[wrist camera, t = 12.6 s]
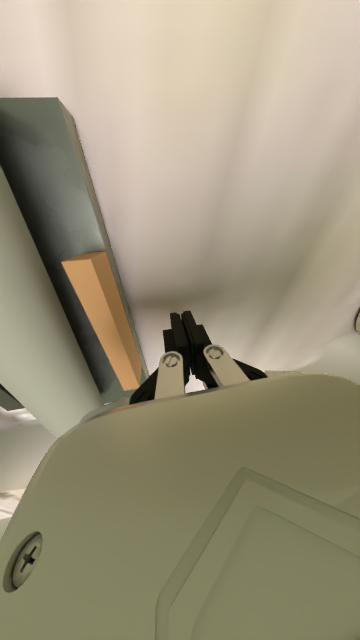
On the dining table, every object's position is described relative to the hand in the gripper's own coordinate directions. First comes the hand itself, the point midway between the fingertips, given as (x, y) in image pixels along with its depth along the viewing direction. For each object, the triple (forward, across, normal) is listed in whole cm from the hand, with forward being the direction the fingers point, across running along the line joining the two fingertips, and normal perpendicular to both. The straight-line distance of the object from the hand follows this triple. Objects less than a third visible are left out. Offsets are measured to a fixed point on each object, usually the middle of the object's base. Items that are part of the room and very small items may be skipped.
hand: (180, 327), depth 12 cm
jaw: (+2, +5, 0) cm, 6 cm away
